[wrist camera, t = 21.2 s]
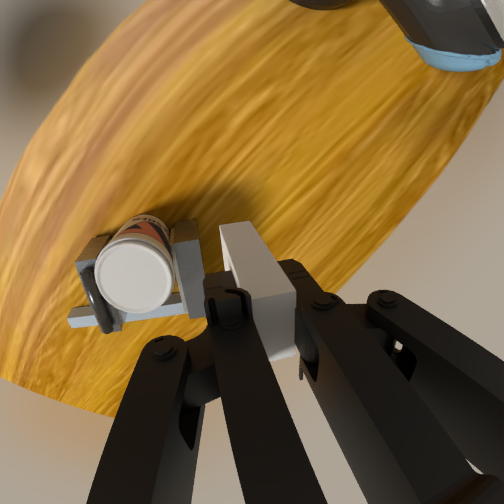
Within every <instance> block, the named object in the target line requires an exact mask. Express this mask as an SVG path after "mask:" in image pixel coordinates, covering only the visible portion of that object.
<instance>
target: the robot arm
mask: <svg viewBox="0 0 504 504" xmlns="http://www.w3.org/2000/svg"><path fill="white" fill-rule="evenodd" d="M289 1H291V2H293V3H295V4H297V5H300V6H303V7H306V8H310V9H315V10H331V9H335V8H338V7H340V6H342V5H344V4H345V3H347V2H349V1H350V0H289ZM379 1H380V3H381V4H382V5H383V6H384V8H385V9H386V10H387V12H388V13H389V14H390V15H391V17H392V18H393V19H394V21H395V22H396V24H397V25H398V26H399V28H400V29H401V31H402V32H403V33H404V35H405V38H406V40H407V41H408V42H409V43H410V44H412V46H413V47H414V48H415V50H416V51H417V53H418V54H419V56H420V57H421V58H422V60H423V61H424V62H426V63H427V64H428V65H430V66H433V67H434V68H437V69H440V70H444V71H452V72H466V71H476V70H481V69H484V68H486V66H493V65H495V64H496V63H498V62H499V60H500V59H501V48H504V0H379ZM219 228H220V236H221V244H222V251H223V259H224V267H225V271H223V272H217V273H211V274H207V275H206V276H205V278H204V280H203V281H202V282H203V289H204V296H205V299H204V308H205V313H206V318H207V323H208V325H207V327H206V329H205V330H204V331H203V332H202V333H201V334H200V335H199V336H197V337H195V338H193V339H191V340H188V341H186V342H185V341H184V340H183V339H181V338H179V337H178V336H172V335H166V336H160V337H157V338H155V339H152V340H151V341H150V342H148V343H147V344H146V345H145V347H144V348H143V350H142V352H141V354H140V356H139V359H138V361H137V364H136V366H135V368H134V371H133V373H132V376H131V378H130V381H129V383H128V386H127V388H126V391H125V393H124V396H123V398H122V401H121V403H120V406H119V409H118V411H117V414H116V417H115V419H114V422H113V425H112V427H111V430H110V433H109V436H108V439H107V442H106V444H105V447H104V450H103V453H102V456H101V459H100V462H99V465H98V468H97V471H96V474H95V477H94V480H93V483H92V486H91V490H90V493H89V496H88V500H87V503H86V504H191V500H192V492H193V485H194V478H195V471H196V464H197V457H198V451H199V444H200V437H201V431H202V424H203V418H204V410H205V404H206V403H208V402H210V401H212V400H214V399H217V398H219V397H221V400H222V405H223V410H224V415H225V420H226V424H227V429H228V434H229V437H230V443H231V447H232V451H233V455H234V460H235V464H236V468H237V472H238V476H239V480H240V484H241V488H242V492H243V496H244V500H245V503H246V504H328V503H327V501H326V499H325V497H324V494H323V492H322V490H321V487H320V485H319V483H318V480H317V478H316V475H315V473H314V470H313V468H312V466H311V463H310V461H309V458H308V456H307V454H306V452H305V449H304V446H303V444H302V442H301V439H300V437H299V434H298V432H297V429H296V427H295V424H294V422H293V419H292V417H291V415H290V412H289V410H288V408H287V405H286V403H285V400H284V397H283V394H282V392H281V389H280V387H279V384H278V382H277V379H276V377H275V374H274V372H273V369H272V367H271V364H270V361H274V360H278V359H283V358H287V357H291V356H294V355H295V344H296V346H297V348H298V350H299V352H300V364H299V378H300V380H303V372H304V374H305V376H306V378H307V380H308V382H309V384H310V387H311V389H312V391H313V393H314V394H315V397H316V399H317V401H318V403H319V405H320V407H321V409H322V411H323V413H324V415H325V417H326V419H327V421H328V423H329V425H330V427H331V429H332V432H333V434H334V436H335V438H336V440H337V442H338V443H339V446H340V448H341V450H342V452H343V454H344V456H345V458H346V460H347V462H348V464H349V466H350V468H351V470H352V472H353V474H354V476H355V478H356V480H357V482H358V484H359V486H360V488H361V490H362V492H363V494H364V496H365V498H366V500H367V502H368V504H504V361H502V360H501V359H499V358H498V357H497V356H495V355H494V354H492V353H491V352H489V351H488V350H486V349H485V348H483V347H482V346H480V345H479V344H477V343H476V342H474V341H473V340H471V339H470V338H468V337H467V336H465V335H463V334H462V333H461V332H459V331H457V330H456V329H454V328H453V327H451V326H450V325H448V324H447V323H445V322H443V321H442V320H440V319H439V318H437V317H436V316H434V315H433V314H431V313H429V312H428V311H426V310H424V309H423V308H421V307H420V306H418V305H416V304H415V303H413V302H412V301H410V300H408V299H407V298H405V297H404V296H402V295H400V294H398V293H396V292H394V291H390V290H378V291H374V292H372V293H371V294H370V295H369V296H368V299H367V304H346V303H345V302H344V301H343V300H342V299H341V298H340V297H338V296H337V295H335V294H333V293H329V292H324V291H323V290H322V289H321V287H320V286H319V285H318V284H317V282H316V281H315V280H314V279H313V277H312V276H310V274H309V273H308V271H306V269H305V268H304V266H303V265H302V264H301V263H299V262H297V261H295V260H293V259H288V260H282V261H276V259H275V258H274V256H273V255H272V253H271V252H270V250H269V249H268V247H267V246H266V244H265V243H264V241H263V240H262V238H261V237H260V236H259V234H258V233H257V231H256V230H255V228H254V227H253V225H252V224H251V222H250V221H244V222H237V223H230V224H224V225H219ZM396 341H398V342H400V343H401V344H402V345H403V347H402V349H401V350H398V349H396V348H395V344H396ZM465 458H466V459H467V460H468V461H469V462H470V463H472V464H473V465H474V466H475V467H476V468H478V469H479V470H480V471H481V472H482V473H483V474H479V473H477V472H475V471H474V470H473V469H472V467H471V466H470V465H469V463H468V462H467V460H466V459H465Z"/></svg>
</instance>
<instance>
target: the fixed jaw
mask: <svg viewBox="0 0 504 504" xmlns="http://www.w3.org/2000/svg"><path fill="white" fill-rule="evenodd" d="M169 246H170V250H171V252H172V257H173V265H174V269H175V274H176V278H177V283H178V287H179V291H180V296H181V300H182V304H183V308H184V312H188V313H189V317H190V319H193V318H200V317H206V313H205V308H204V299H205V296H204V289H203V282H202V281H203V280H204V278H205V272H204V266H203V260H202V254H201V248H200V242H199V235H198V229H197V222H196V219H190V220H184V221H178V222H175V228H171V235H170V244H169Z"/></svg>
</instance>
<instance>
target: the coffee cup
mask: <svg viewBox="0 0 504 504" xmlns="http://www.w3.org/2000/svg"><path fill="white" fill-rule="evenodd" d="M169 244H170V232H169V230H168V228H167V226H166V225H165V224H164V223H163V222H162V221H161V220H160V219H158V218H156V217H154V216H151V215H138V216H135V217H133V218H131V219H129V220H128V221H127V222H126V223H125V224H124V225H123V226H122V227H121V229H120V230H119V231H118V232H117V233H116V235H115V236H114V237H113V238H112V240H111V241H110V242H109V243H108V245H106V246H105V247H104V248H103V250H102V251H101V252H100V254H99V256H98V258H97V260H96V264H95V280H96V283H97V286H98V289H99V291H100V293H101V294H102V296H103V297H104V298H105V299H106V300H107V301H108V302H109V303H110V304H111V305H113V306H114V307H116V308H117V309H120V310H122V311H125V312H129V313H146V312H150V311H153V310H155V309H156V308H158V307H160V306H161V305H162V304H163V303H164V302H166V300H167V299H168V298H169V297H170V295H171V293H172V291H173V288H174V284H175V271H174V267H173V257H172V252H171V250H170V246H169Z"/></svg>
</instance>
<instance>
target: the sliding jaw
mask: <svg viewBox="0 0 504 504" xmlns="http://www.w3.org/2000/svg"><path fill="white" fill-rule="evenodd" d="M110 241H111V236H110V235H106V236H100V237H95V238H92V239H91V240H90V241H89V243H88V244H87V246H86V247H85V248H84V250H83V251H82V253H81V254H80V255H79V257H78V258H77V260H76V261H75V265H76V268H77V271H78V274H79V276H80V279H81V282H82V285H83V287H84V290H85V293H86V295H87V298H88V301H89V303H90V306H91V308H92V310H93V313H94V315H95V318H96V320H97V322H98V325H99V327H100V329H101V331H102V333H105V334H109V333H111V332H116V331H122V326H123V323H125V322H126V317H127V313H128V312H125V311H122V310H120V309H117V308H116V307H114V306H113V305H111V304H110V303H109V302H108V301H107V300H106V299H105V298H104V297H103V296H102V294H101V293H100V291H99V289H98V286H97V283H96V280H95V264H96V260H97V258H98V256H99V254H100V252H101V251H102V250H103V248H104V247H105V246H106V245H108V243H109V242H110Z"/></svg>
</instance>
